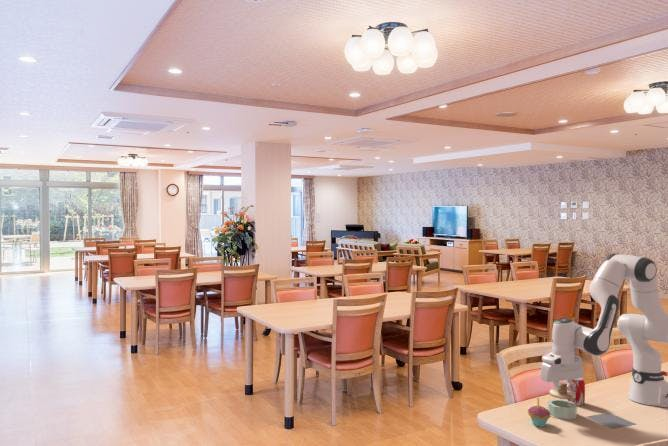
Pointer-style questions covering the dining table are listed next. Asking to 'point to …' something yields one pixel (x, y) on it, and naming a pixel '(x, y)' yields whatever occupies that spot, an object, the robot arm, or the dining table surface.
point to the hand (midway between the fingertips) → (562, 389)
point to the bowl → (562, 409)
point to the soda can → (578, 391)
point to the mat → (611, 420)
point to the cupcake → (539, 415)
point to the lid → (562, 392)
